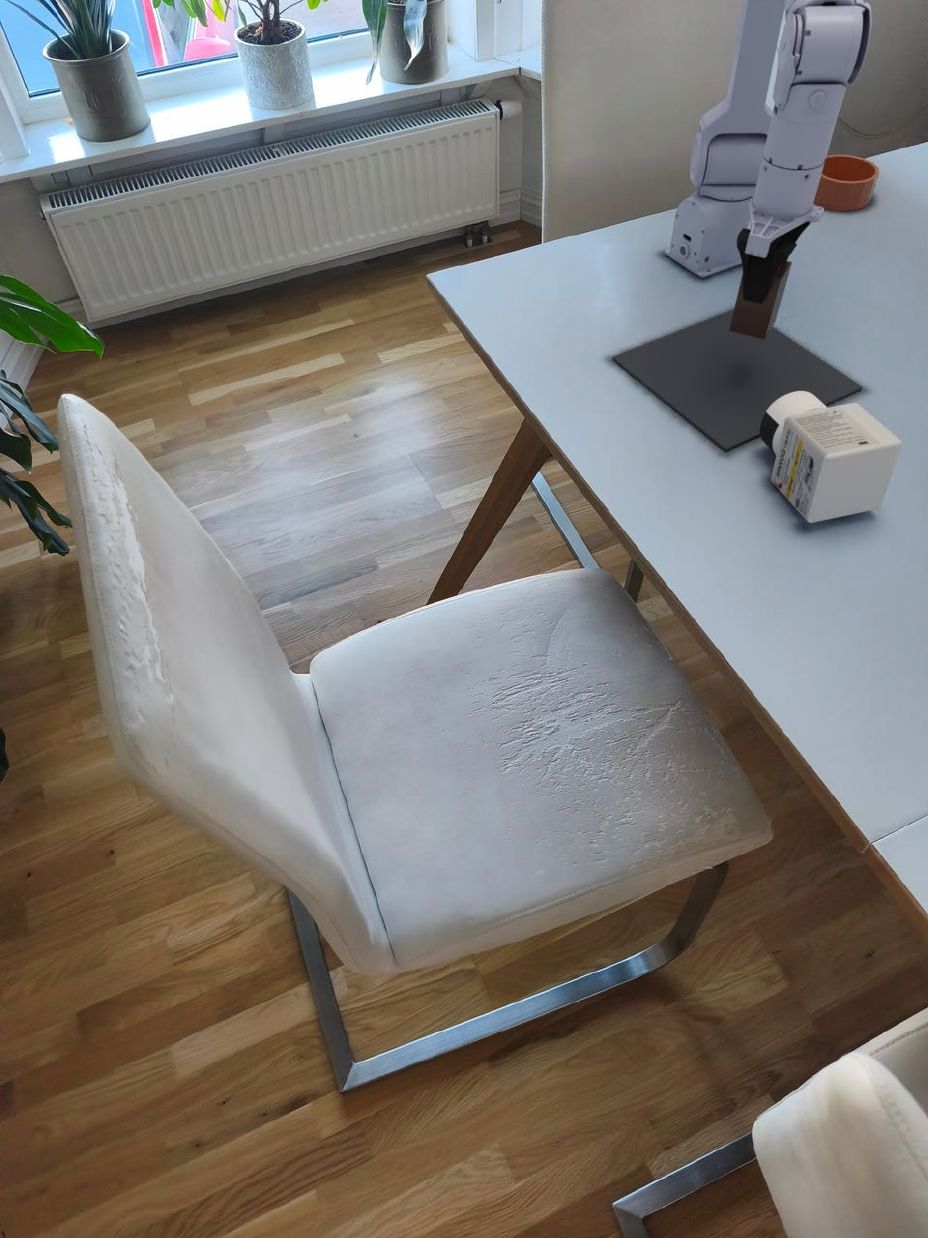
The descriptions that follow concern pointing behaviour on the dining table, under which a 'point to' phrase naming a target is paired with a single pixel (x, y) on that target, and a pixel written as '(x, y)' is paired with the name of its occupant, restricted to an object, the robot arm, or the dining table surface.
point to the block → (759, 308)
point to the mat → (730, 376)
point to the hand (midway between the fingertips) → (759, 290)
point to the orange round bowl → (846, 183)
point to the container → (828, 456)
